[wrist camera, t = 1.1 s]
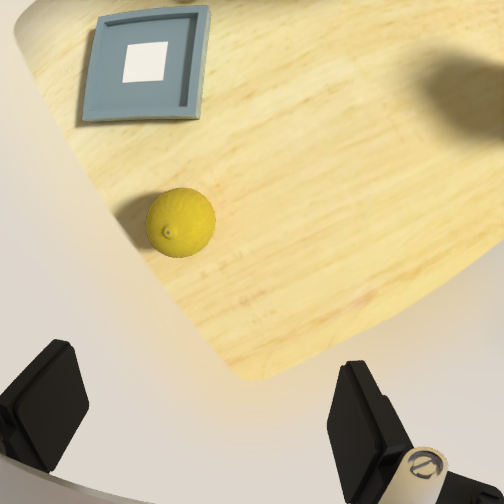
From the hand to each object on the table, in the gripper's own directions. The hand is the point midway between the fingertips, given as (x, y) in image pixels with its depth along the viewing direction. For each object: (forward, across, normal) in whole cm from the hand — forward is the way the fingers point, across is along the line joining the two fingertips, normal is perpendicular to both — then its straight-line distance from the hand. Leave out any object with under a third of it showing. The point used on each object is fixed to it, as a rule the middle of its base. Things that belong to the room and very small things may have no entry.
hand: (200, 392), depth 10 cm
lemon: (+21, +4, -3) cm, 22 cm away
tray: (+21, +9, -17) cm, 28 cm away
